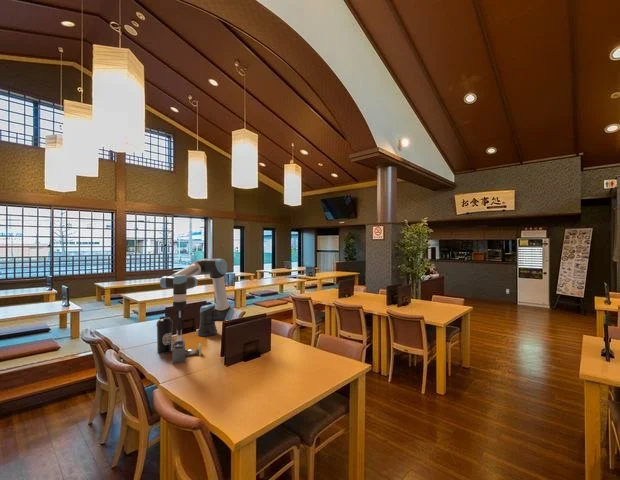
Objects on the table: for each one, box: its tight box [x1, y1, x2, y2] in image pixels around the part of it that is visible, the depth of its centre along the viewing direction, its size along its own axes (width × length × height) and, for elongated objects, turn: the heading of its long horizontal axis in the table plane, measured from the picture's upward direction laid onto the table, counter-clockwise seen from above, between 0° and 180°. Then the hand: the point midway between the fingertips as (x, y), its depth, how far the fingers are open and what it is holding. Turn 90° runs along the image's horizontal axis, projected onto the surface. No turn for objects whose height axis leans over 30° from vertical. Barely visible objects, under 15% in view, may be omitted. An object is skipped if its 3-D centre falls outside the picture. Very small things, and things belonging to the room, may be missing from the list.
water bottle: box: [156, 315, 174, 354], centre depth 207 cm, size 10×10×23 cm
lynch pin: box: [185, 342, 203, 357], centre depth 201 cm, size 10×7×6 cm, turn 115°
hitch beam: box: [171, 337, 186, 365], centre depth 196 cm, size 22×7×11 cm, turn 25°
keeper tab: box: [174, 340, 183, 346], centre depth 188 cm, size 1×5×8 cm
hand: (179, 340), depth 184 cm, fingers closed
